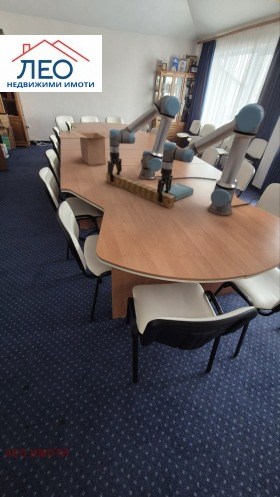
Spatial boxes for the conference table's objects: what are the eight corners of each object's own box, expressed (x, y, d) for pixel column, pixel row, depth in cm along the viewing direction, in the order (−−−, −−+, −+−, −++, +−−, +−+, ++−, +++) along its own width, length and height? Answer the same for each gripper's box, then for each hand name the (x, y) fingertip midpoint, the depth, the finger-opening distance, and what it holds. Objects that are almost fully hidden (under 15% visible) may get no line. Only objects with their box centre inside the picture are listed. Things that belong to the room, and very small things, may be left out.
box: (116, 165, 229) (116, 136, 213) (83, 168, 214) (80, 137, 198) (102, 154, 259) (101, 128, 243) (71, 156, 244) (68, 129, 228)
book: (176, 188, 187) (177, 182, 184) (192, 194, 178) (193, 188, 175) (159, 194, 174) (160, 188, 171) (175, 201, 165) (176, 195, 162)
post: (106, 181, 190) (106, 172, 186) (110, 180, 194) (110, 171, 189) (168, 208, 156) (170, 198, 151) (173, 206, 159) (174, 196, 155)
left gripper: (108, 154, 165) (109, 184, 179) (126, 151, 177) (126, 179, 190) (101, 152, 169) (103, 182, 182) (120, 149, 181) (120, 177, 194)
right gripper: (162, 172, 138) (158, 205, 152) (179, 166, 150) (174, 198, 164) (153, 169, 142) (150, 202, 156) (170, 164, 154) (166, 195, 168)
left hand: (114, 180), depth 186 cm, fingers open, 6 cm apart
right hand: (162, 200), depth 160 cm, fingers open, 6 cm apart
